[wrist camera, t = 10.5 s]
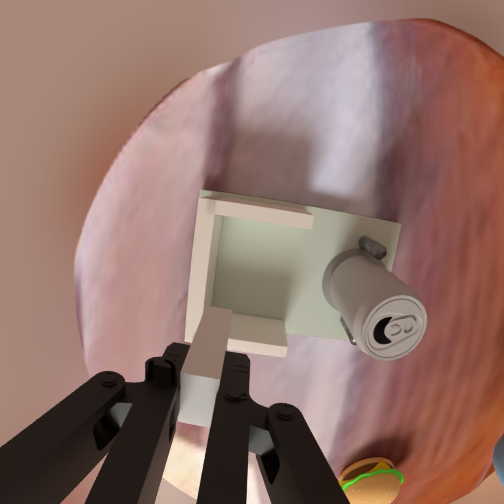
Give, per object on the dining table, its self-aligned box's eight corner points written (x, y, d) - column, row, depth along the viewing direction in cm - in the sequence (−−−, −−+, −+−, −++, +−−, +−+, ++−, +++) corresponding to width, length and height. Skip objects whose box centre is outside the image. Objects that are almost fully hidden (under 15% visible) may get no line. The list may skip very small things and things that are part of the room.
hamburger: (385, 441, 40) (399, 478, 32) (403, 468, 42) (416, 501, 34) (321, 471, 42) (327, 510, 34) (347, 495, 44) (354, 528, 36)
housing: (305, 209, 32) (314, 215, 26) (282, 330, 35) (285, 357, 29) (211, 195, 32) (199, 197, 26) (197, 316, 35) (184, 341, 29)
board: (396, 222, 33) (401, 224, 32) (367, 336, 36) (370, 342, 35) (202, 189, 33) (199, 189, 32) (189, 312, 36) (186, 317, 35)
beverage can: (325, 258, 33) (355, 299, 21) (381, 249, 32) (433, 283, 21) (330, 313, 34) (357, 373, 22) (383, 303, 34) (428, 355, 22)
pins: (371, 237, 32) (388, 246, 27) (349, 325, 34) (361, 345, 30) (359, 234, 32) (374, 243, 27) (338, 323, 34) (348, 344, 30)
